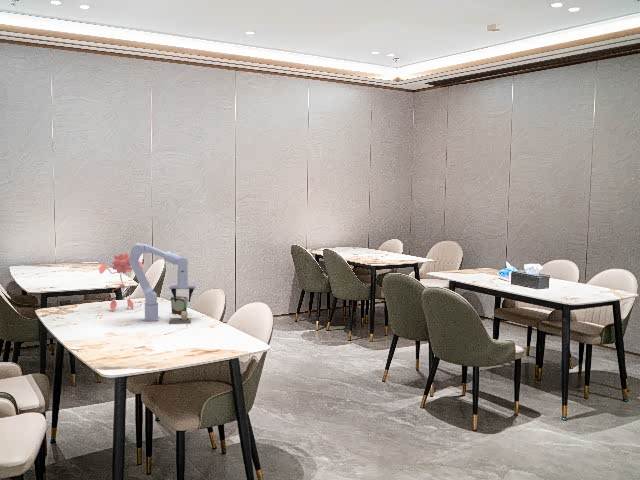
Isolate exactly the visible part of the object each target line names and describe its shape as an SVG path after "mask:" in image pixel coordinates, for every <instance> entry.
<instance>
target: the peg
mask: <svg viewBox="0 0 640 480" xmlns="http://www.w3.org/2000/svg"><path fill="white" fill-rule="evenodd" d="M180 316H181V317H180V318H181V320H187V318H188V310H186V311H181V315H180Z"/></svg>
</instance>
